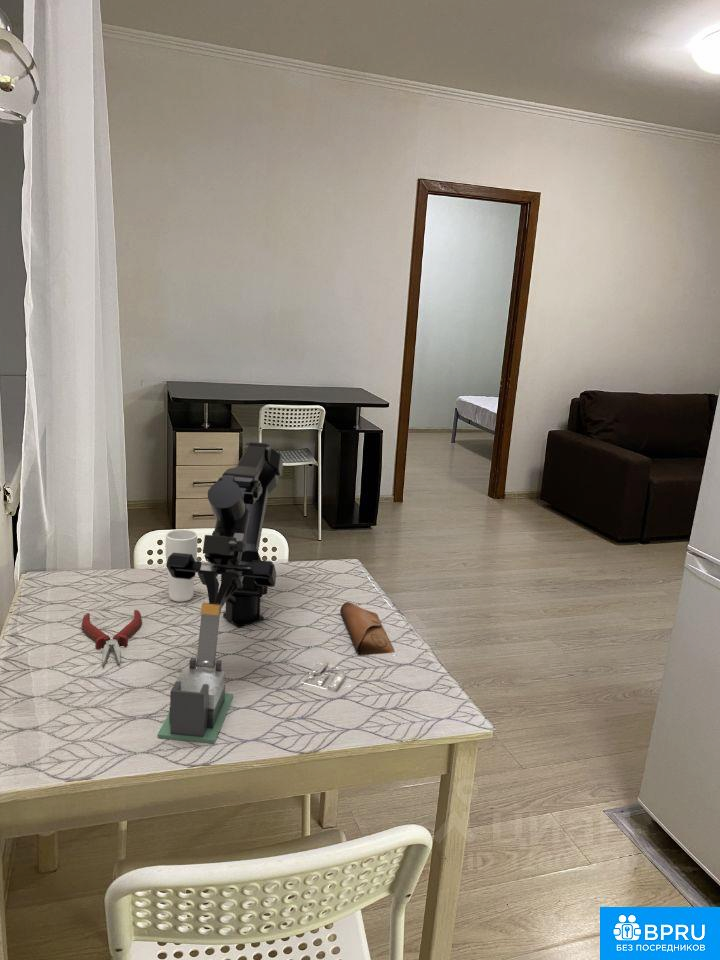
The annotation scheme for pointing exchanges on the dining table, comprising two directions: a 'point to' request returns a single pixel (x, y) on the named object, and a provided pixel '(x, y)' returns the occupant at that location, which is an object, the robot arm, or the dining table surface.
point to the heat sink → (216, 681)
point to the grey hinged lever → (208, 635)
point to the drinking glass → (183, 544)
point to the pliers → (104, 640)
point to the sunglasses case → (365, 630)
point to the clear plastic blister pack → (335, 682)
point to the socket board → (192, 713)
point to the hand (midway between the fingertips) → (213, 615)
